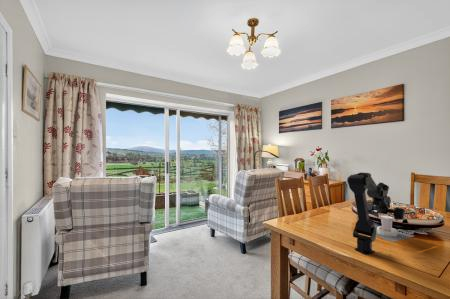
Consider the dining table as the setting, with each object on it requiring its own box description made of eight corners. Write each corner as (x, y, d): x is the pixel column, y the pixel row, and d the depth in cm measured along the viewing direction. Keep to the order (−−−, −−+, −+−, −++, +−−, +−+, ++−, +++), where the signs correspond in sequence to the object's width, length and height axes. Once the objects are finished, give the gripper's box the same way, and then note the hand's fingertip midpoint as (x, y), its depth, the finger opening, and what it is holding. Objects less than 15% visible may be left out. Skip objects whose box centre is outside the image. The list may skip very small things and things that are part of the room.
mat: (393, 242, 116) (393, 242, 116) (361, 231, 133) (361, 230, 133) (414, 236, 124) (414, 235, 124) (382, 227, 140) (382, 226, 140)
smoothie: (382, 234, 126) (382, 211, 126) (378, 230, 132) (378, 208, 132) (395, 235, 124) (395, 211, 124) (391, 232, 130) (390, 209, 130)
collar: (390, 237, 122) (390, 233, 122) (373, 231, 131) (373, 227, 131) (401, 234, 125) (401, 230, 126) (383, 229, 134) (383, 225, 134)
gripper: (403, 194, 119) (409, 210, 125) (365, 190, 134) (372, 204, 140) (399, 211, 114) (406, 227, 120) (360, 204, 129) (368, 219, 135)
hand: (387, 218), depth 129 cm, fingers open, 9 cm apart
